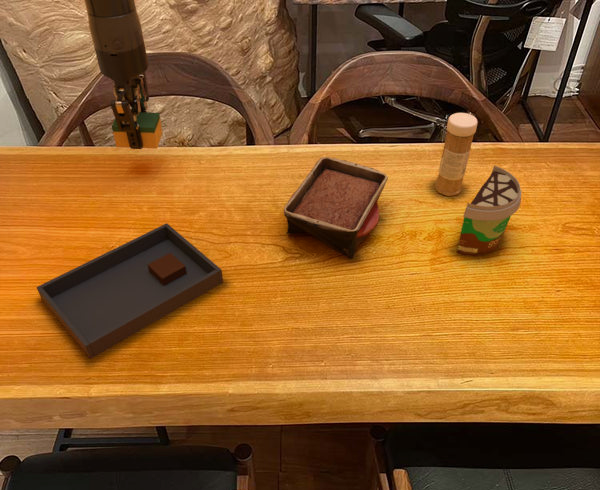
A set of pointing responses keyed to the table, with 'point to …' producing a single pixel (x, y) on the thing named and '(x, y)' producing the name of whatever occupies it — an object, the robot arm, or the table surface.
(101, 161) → the table surface
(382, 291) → the table surface
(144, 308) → the pan
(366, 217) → the soil filled planter
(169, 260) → the burnt scrap
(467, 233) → the food container
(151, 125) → the sponge
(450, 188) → the sprinkles bottle
